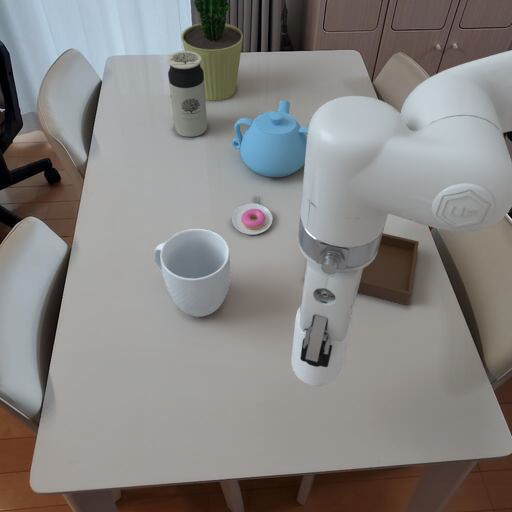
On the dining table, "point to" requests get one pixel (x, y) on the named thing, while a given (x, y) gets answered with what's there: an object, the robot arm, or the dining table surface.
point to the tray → (391, 270)
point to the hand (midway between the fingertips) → (321, 335)
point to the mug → (195, 270)
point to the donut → (252, 219)
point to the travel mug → (187, 93)
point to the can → (319, 374)
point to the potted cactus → (215, 48)
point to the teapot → (272, 142)
